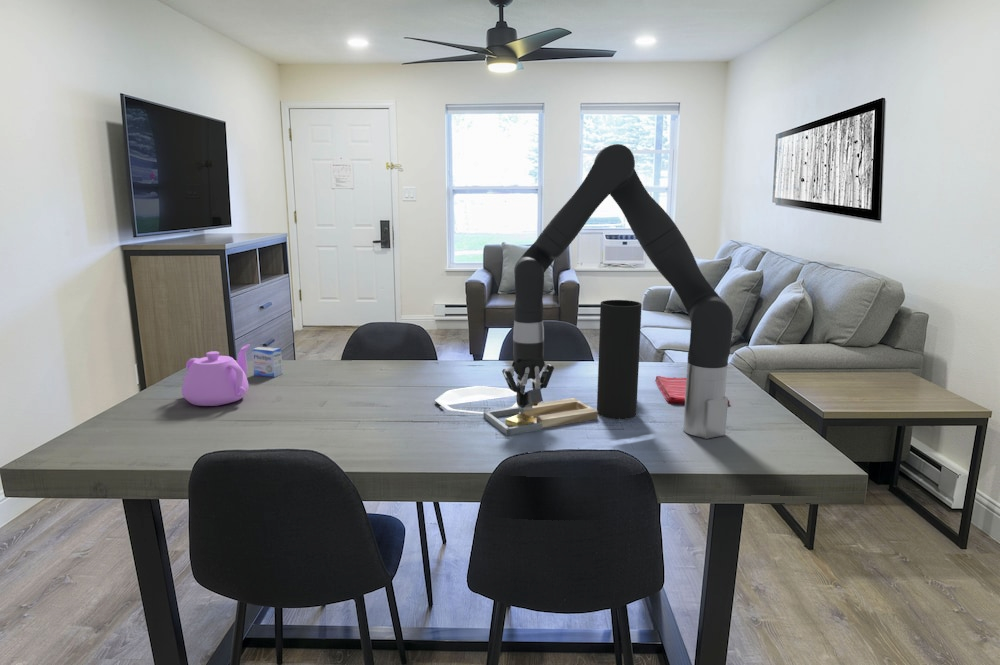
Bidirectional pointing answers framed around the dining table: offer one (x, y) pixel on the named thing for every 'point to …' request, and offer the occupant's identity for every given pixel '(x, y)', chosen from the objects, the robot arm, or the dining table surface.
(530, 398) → the stepped metal block
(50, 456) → the dining table surface
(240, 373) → the teapot
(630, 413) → the vase
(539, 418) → the slot board
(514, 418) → the yellow rectangular block
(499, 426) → the tray
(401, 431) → the dining table surface
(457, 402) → the plate
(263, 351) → the medicine box
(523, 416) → the yellow block
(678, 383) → the dish towel
